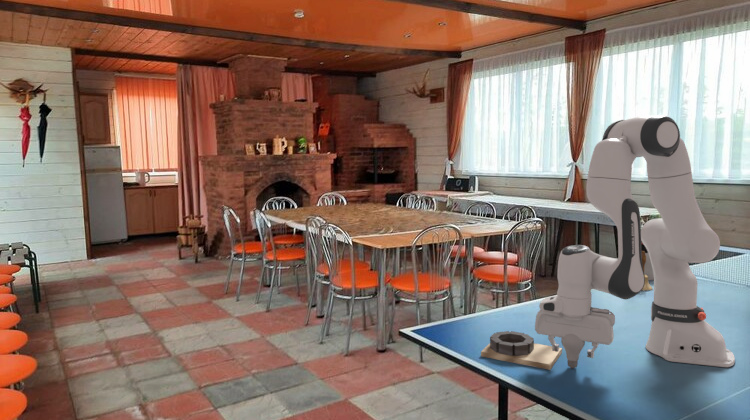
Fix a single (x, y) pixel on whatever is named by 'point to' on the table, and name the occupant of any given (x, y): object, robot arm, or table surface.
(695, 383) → the table surface
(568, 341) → the lightbulb
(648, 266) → the glass holder
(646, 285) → the hand bell
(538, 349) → the socket board
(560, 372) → the table surface
